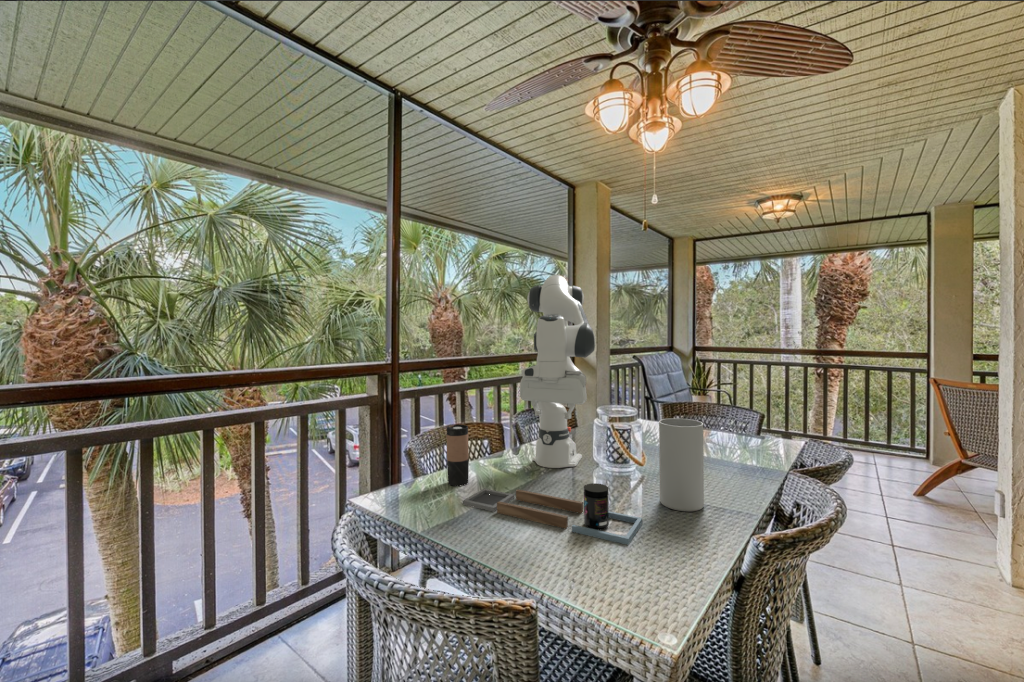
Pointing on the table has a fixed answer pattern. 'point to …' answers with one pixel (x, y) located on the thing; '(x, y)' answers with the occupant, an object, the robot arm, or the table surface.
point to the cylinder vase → (681, 464)
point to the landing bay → (611, 536)
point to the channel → (539, 514)
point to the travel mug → (457, 455)
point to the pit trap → (487, 499)
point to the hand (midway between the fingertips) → (552, 417)
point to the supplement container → (596, 506)
